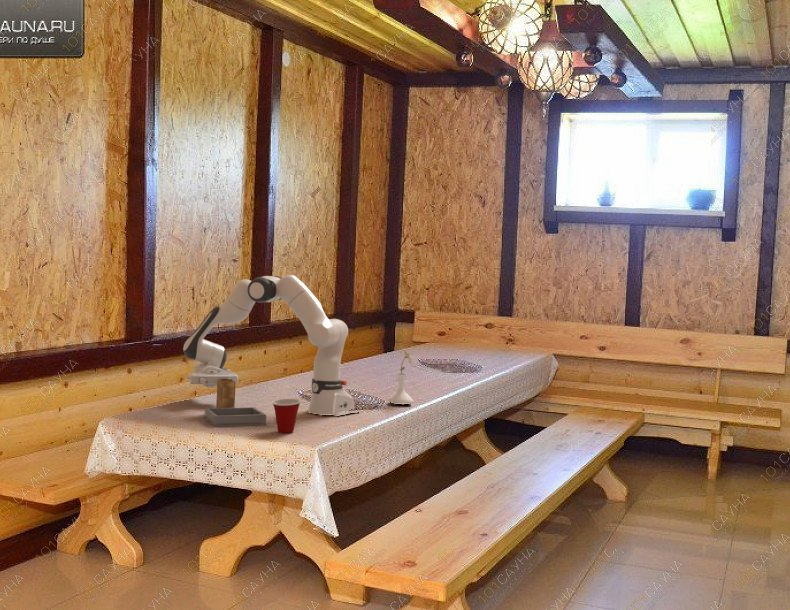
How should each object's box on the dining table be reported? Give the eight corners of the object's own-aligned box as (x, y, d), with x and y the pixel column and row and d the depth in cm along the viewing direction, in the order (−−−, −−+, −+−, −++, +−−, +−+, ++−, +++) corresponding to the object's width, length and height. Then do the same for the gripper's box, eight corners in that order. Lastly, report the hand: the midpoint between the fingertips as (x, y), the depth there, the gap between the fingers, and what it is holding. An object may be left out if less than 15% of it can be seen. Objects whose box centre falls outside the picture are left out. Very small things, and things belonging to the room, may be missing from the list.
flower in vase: (410, 407, 456) (413, 351, 454) (384, 405, 458) (387, 349, 456) (415, 403, 469) (418, 348, 467) (390, 400, 471) (393, 346, 469)
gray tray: (254, 417, 416) (254, 407, 416) (265, 425, 402) (266, 414, 401) (204, 418, 408) (205, 408, 408) (214, 426, 394) (215, 416, 393)
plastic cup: (267, 429, 394) (268, 398, 393) (295, 428, 398) (296, 397, 397) (274, 435, 384) (275, 403, 383) (302, 434, 388) (304, 402, 387)
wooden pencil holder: (229, 412, 423) (231, 378, 422) (234, 416, 417) (235, 381, 415) (216, 413, 421) (217, 378, 420) (220, 416, 414) (221, 381, 413)
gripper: (185, 369, 437) (193, 374, 424) (233, 369, 445) (241, 374, 433) (184, 383, 437) (192, 389, 425) (232, 383, 446) (241, 389, 433)
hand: (217, 382), depth 429 cm, fingers open, 8 cm apart
